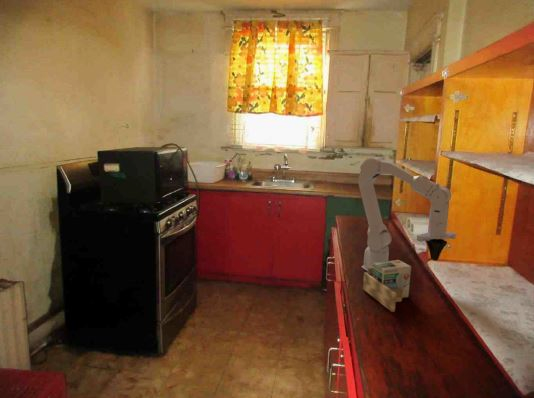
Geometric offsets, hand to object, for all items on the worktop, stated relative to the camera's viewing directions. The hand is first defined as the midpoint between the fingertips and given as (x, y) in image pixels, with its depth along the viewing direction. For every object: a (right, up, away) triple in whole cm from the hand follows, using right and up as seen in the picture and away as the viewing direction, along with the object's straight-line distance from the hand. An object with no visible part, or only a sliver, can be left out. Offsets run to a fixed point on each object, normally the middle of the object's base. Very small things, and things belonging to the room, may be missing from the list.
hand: (434, 259), depth 133 cm
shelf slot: (-20, -11, -9) cm, 25 cm away
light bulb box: (-18, -11, -7) cm, 22 cm away
